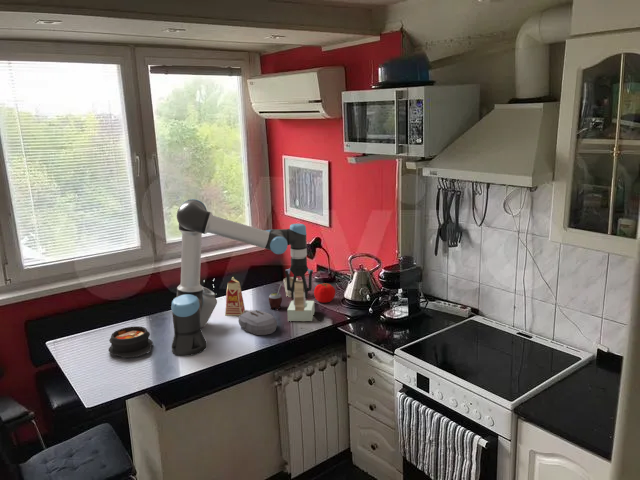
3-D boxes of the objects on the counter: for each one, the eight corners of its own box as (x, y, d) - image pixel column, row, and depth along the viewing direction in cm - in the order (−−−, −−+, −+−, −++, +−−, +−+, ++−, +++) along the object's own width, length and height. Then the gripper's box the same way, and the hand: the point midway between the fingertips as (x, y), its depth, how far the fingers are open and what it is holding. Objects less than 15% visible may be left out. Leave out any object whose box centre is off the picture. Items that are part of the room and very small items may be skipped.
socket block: (311, 321, 256) (311, 310, 254) (287, 321, 257) (287, 310, 256) (314, 311, 269) (314, 300, 268) (291, 311, 270) (291, 300, 269)
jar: (175, 320, 239) (208, 276, 241) (165, 306, 250) (197, 265, 252) (204, 336, 251) (236, 294, 253) (193, 322, 262) (224, 283, 264)
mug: (299, 293, 299) (299, 277, 297) (296, 300, 287) (295, 283, 284) (285, 293, 300) (284, 277, 297) (281, 300, 288) (281, 283, 285)
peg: (303, 311, 244) (303, 282, 241) (295, 311, 244) (294, 282, 241) (304, 308, 248) (304, 280, 245) (296, 308, 248) (295, 280, 245)
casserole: (102, 346, 234) (100, 329, 232) (143, 336, 245) (141, 319, 243) (117, 366, 214) (114, 347, 212) (161, 353, 225) (159, 335, 223)
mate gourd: (266, 307, 277) (265, 281, 274) (279, 304, 281) (278, 278, 278) (273, 311, 271) (272, 284, 268) (286, 308, 275) (285, 281, 272)
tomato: (311, 304, 281) (310, 286, 279) (317, 297, 291) (317, 279, 289) (332, 305, 277) (332, 287, 275) (338, 298, 288) (337, 281, 286)
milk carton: (242, 315, 267) (239, 278, 263) (224, 315, 267) (221, 279, 263) (245, 309, 276) (242, 273, 271) (228, 309, 276) (225, 273, 272)
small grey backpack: (234, 328, 251) (258, 339, 236) (233, 312, 249) (257, 322, 235) (260, 319, 261) (284, 330, 246) (259, 304, 259) (283, 314, 244)
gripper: (317, 255, 243) (318, 302, 248) (282, 254, 245) (283, 301, 250) (316, 259, 236) (316, 307, 241) (279, 258, 238) (280, 306, 243)
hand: (299, 304), depth 246 cm, fingers closed on peg, 4 cm apart
